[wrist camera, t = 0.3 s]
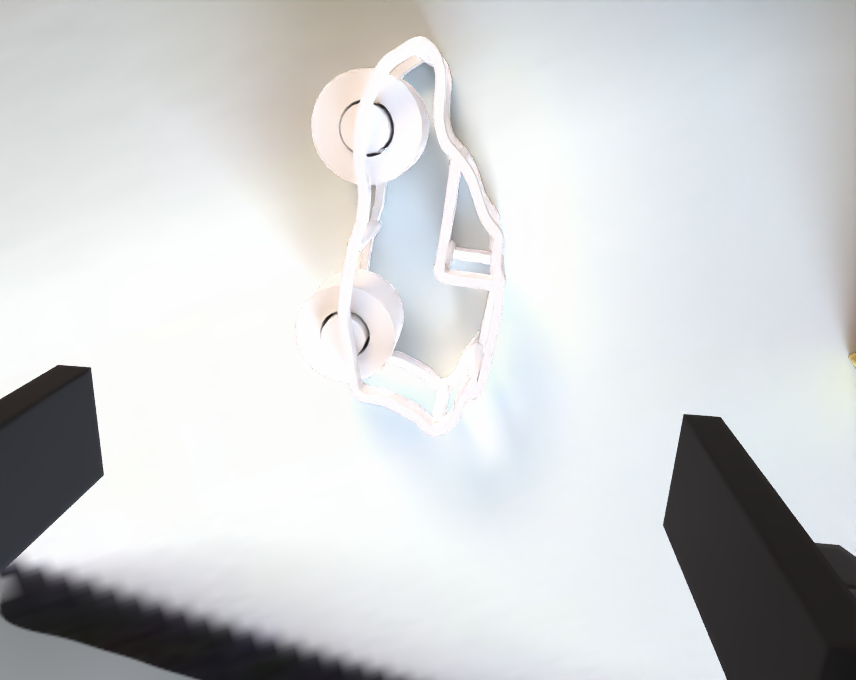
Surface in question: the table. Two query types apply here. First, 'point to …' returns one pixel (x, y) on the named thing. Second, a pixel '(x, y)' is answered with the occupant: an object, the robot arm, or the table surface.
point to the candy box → (853, 358)
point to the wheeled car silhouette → (358, 288)
